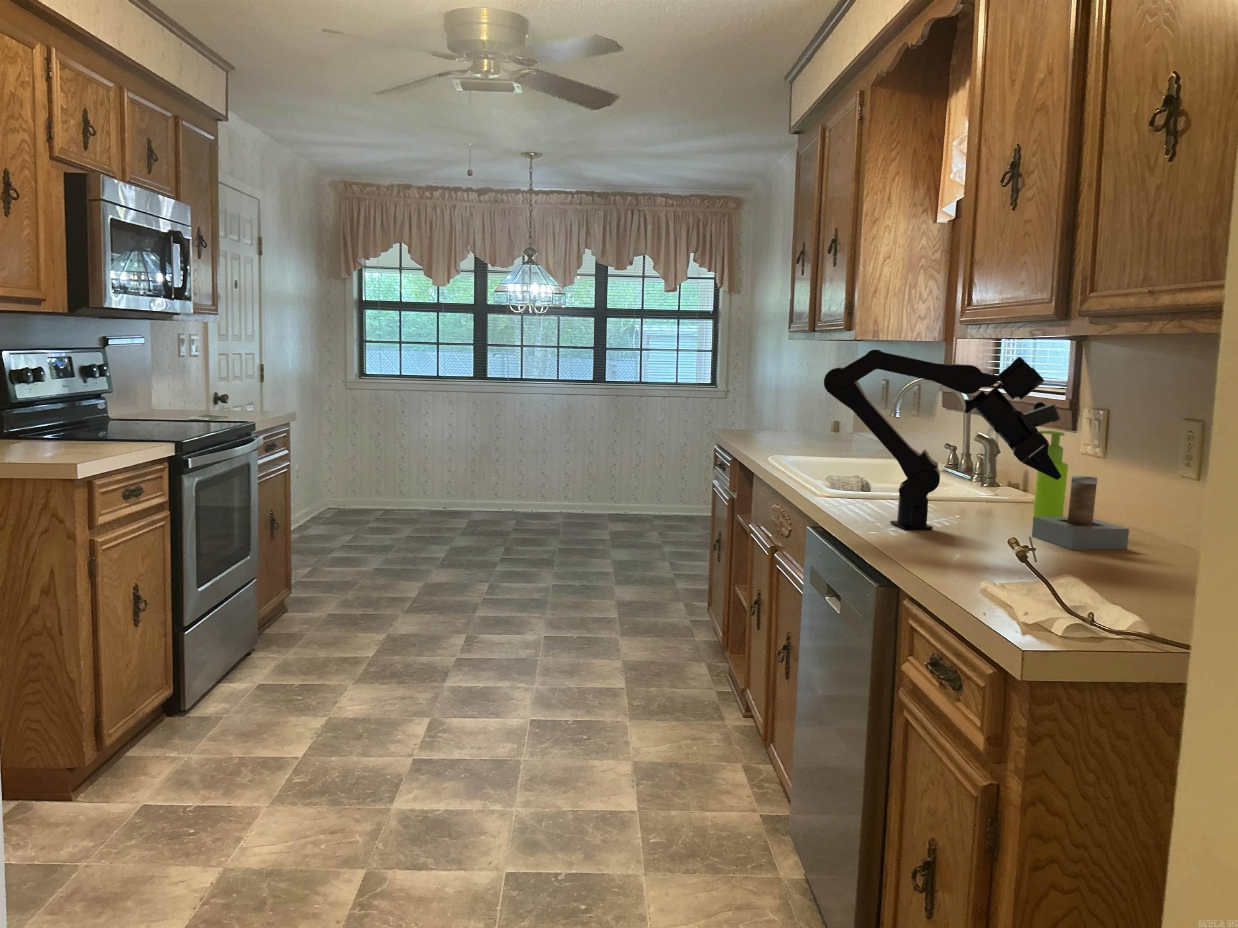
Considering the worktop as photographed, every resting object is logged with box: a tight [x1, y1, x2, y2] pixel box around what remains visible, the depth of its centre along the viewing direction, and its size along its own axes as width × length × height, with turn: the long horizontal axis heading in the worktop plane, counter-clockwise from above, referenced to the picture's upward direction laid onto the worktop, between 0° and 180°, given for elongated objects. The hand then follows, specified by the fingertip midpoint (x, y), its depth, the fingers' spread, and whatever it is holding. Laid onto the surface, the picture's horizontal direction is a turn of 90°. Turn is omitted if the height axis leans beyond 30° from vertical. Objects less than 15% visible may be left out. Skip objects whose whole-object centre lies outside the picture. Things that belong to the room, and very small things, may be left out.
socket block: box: [1031, 516, 1130, 551], centre depth 182 cm, size 12×12×4 cm
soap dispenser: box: [1032, 430, 1069, 519], centre depth 201 cm, size 6×7×20 cm
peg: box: [1067, 475, 1098, 526], centre depth 181 cm, size 4×4×13 cm
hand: (1056, 475), depth 182 cm, fingers open, 9 cm apart
